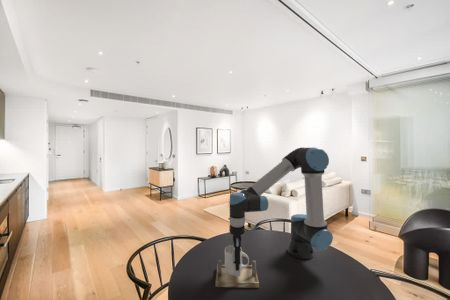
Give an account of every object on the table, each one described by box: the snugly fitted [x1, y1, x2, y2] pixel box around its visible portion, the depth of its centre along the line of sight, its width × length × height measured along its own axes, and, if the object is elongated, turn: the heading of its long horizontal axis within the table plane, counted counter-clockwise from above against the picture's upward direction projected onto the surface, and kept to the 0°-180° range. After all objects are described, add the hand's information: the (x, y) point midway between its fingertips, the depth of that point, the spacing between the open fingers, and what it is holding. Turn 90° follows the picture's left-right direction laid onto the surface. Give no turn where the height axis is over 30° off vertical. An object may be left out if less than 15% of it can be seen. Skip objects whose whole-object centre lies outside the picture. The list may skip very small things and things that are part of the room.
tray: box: [215, 259, 260, 289], centre depth 101 cm, size 20×14×8 cm
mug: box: [224, 244, 250, 275], centre depth 101 cm, size 9×12×11 cm
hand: (236, 269), depth 101 cm, fingers closed on mug, 9 cm apart
